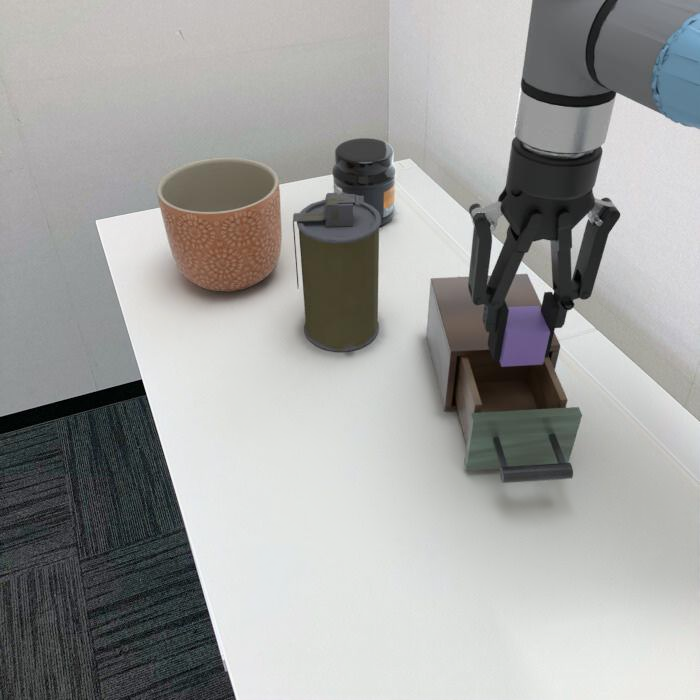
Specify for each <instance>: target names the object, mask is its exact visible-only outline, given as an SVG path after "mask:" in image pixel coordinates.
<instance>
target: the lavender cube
mask: <svg viewBox="0 0 700 700" xmlns="http://www.w3.org/2000/svg"><path fill="white" fill-rule="evenodd" d="M508 309H509V313H508V319H507V324H506V329H505V333H504V339H503V345H502V351H501V357H500V360H499V361H500V364H501V366H502V367H507V366H525V365H542V364H543V362H544V358H545V353H546V349H547V344H548V340H549V335H550V330H549V328H548V326H547V324H546V322H545V319H544V317H543V315H542V313H541V311H540V308H539V306H526V307H508Z"/></svg>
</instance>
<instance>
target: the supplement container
mask: <svg viewBox="0 0 700 700" xmlns="http://www.w3.org/2000/svg"><path fill="white" fill-rule="evenodd" d="M334 162H335V163H334V165H333V167H332V177H333V193H338V194H355V196H356V195H358V196H359V198H360V200H359V201H362V202H365V203H367V204H369V205H371V206H373V207H374V208H375V209H376V210H377V211H378V212H379V213H380V217H381V224H380V226H382V225H384V224H386V223H388V222H389V221H390V220H391V219H392V218H393V217H394V214H395V210H396V209H395V196H396V195H395V194H396V193H395V192H396V176H397V168H396V166H395V163H394V148H393V147H392V146H391V144H389V143H388V142H386V141H384V140H381V139H376V138H370V137H369V138H368V137H367V138H365V137H361V138H353V139H349V140H346V141H343V142H342V143H340V144H339V145H337V147H336V148H335V150H334Z"/></svg>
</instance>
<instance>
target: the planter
mask: <svg viewBox="0 0 700 700" xmlns="http://www.w3.org/2000/svg"><path fill="white" fill-rule="evenodd" d="M156 194H157V200H158V205H159V209H160V213H161V217H162V221H163V225H164V230H165V233H166V238H167V241H168V245H169V248H170V252H171V255H172V257H173V260H174V262H175V265H176V267H177V269H178V270H179V272H180V273H181V274H182V275H183V276H184V277H185V278H186V279H187V280H188V281H189V282H191V283H193V284H194V285H197V287H200V288H203V289H206V290H209V291H213V292H219V293H220V292H221V293H222V292H223V293H229V292H231V293H232V292H237V291H242V290H246V289H249V288H251V287H253V286H255V285H257V284H258V283H260V282H261V281H263V280H265V279H266V278H267V277H268V276H269V275H270V274H271V273H272V272H273V270H274V269H275V267H276V266H277V264H278V262H279V259H280V256H281V250H282V239H283V238H282V237H283V236H282V235H283V234H282V233H283V232H282V212H281V211H282V210H281V209H282V208H281V191H280V181H279V176H278V174H277V172H276V171H275V170H274V169H273V168H271V167H270V166H268V165H267V164H265V163H262V162H261V161H257V160H253V159H250V158H243V157H232V156H230V157H228V156H227V157H226V156H225V157H224V156H223V157H222V156H221V157H210V158H204V159H200V160H195V161H191V162H188V163H185V164H182V165H180V166H178V167H176V168H174V169H172V170H171V171H169V172H168V173H167V174H165V175H164V176H163V177H162V178H161V179H160V181H159V182H158V184H157V187H156Z"/></svg>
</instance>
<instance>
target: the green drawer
mask: <svg viewBox="0 0 700 700" xmlns="http://www.w3.org/2000/svg"><path fill="white" fill-rule="evenodd" d="M453 394H454V398H455V402H456V406H457V409H458V411H457V413H458V417H459V420H460V424H461V428H462V432H463V436H464V440H465V443H466V446H465V453H464V460H463V463H464V464H463V465H464V468H465V471H480V470H481V471H482V470H497V469H498V470H499V479H500V482H501V483H502V484H509V483H510V484H511V483H527V482H540V481H541V482H542V481H557V480H571V479H573V476H574V469H573V465H572V463H570V459H571V455H572V452H573V449H574V445H575V441H576V438H577V434H578V431H579V427H580V424H581V420H582V417H583V413H582V411H581V409H580V407H579V406H571V407H567V404H568V398H567V395H566V393H565V390H564V388H563V385H562V383H561V382H560V379H559V376H558V374H557V372H556V369H555V370H554V367H553V365H552V363H551V360H550V358H549V356H548V358H544V362H543V364H542V365H525V366H507V367H502V366H501V364H500V361H499V360H494V361H493V359H492V356H491V354H488V355H469V356H457V362H456V371H455V379H454V388H453Z"/></svg>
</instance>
